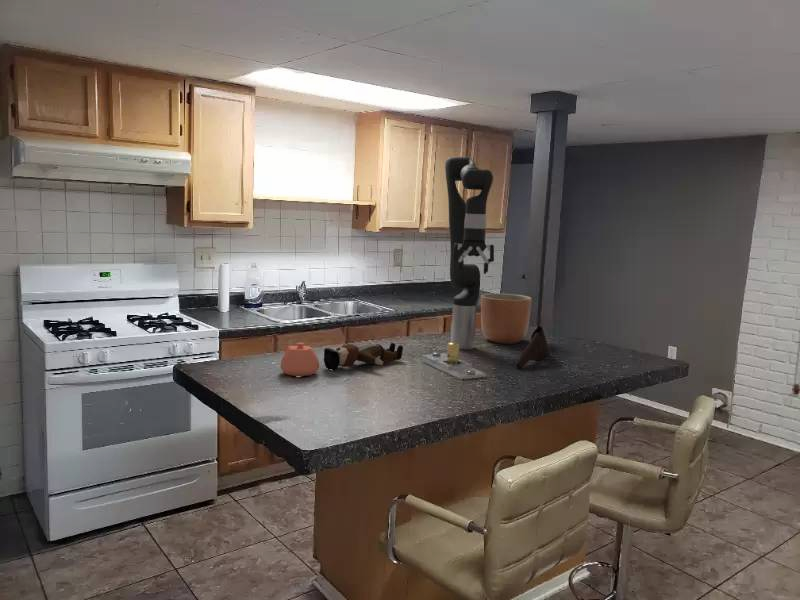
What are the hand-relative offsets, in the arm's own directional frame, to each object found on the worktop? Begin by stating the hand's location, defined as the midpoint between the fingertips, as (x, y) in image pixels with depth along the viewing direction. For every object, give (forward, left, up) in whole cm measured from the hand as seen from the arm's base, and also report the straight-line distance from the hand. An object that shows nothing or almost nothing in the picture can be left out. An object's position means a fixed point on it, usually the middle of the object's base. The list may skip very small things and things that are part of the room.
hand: (472, 273), depth 224 cm
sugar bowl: (-5, -62, -32) cm, 70 cm away
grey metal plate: (+7, -11, -32) cm, 35 cm away
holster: (+8, +23, -33) cm, 41 cm away
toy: (-8, -37, -33) cm, 50 cm away
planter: (-27, +36, -32) cm, 55 cm away
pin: (+7, -11, -32) cm, 35 cm away
